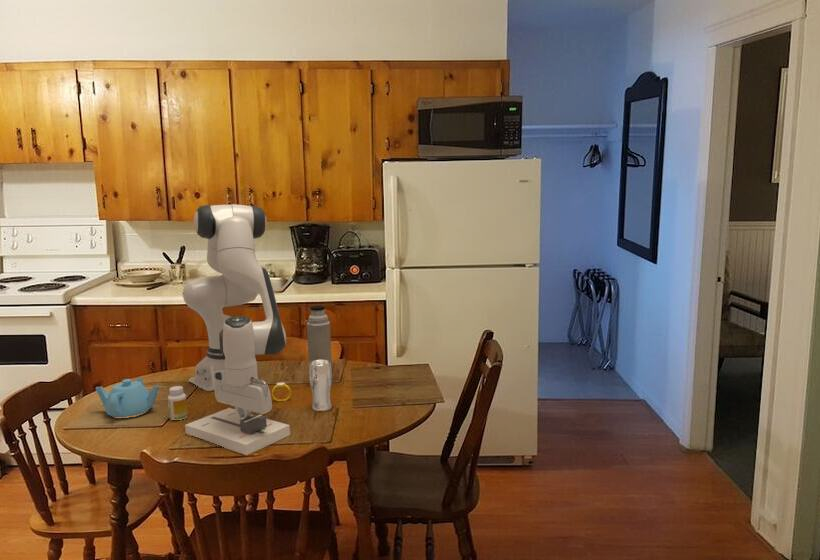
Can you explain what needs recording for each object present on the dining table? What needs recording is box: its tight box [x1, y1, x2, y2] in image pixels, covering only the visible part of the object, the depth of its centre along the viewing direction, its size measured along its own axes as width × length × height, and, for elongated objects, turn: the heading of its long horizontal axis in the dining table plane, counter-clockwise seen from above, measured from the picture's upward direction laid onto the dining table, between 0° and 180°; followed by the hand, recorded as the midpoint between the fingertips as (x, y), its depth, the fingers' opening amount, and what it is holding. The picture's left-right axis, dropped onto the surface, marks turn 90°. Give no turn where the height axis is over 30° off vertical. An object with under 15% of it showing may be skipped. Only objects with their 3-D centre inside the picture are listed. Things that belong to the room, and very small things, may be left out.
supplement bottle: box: [167, 385, 189, 421], centre depth 204 cm, size 5×5×10 cm
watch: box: [271, 381, 292, 402], centre depth 218 cm, size 6×3×6 cm, turn 101°
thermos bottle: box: [306, 305, 334, 387], centre depth 231 cm, size 8×8×28 cm
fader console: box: [184, 407, 291, 456], centre depth 191 cm, size 26×16×3 cm, turn 55°
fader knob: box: [240, 413, 267, 434], centre depth 186 cm, size 4×6×3 cm, turn 145°
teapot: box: [95, 377, 160, 417], centre depth 210 cm, size 15×15×11 cm
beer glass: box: [308, 359, 333, 412], centre depth 209 cm, size 7×7×15 cm
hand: (244, 421), depth 188 cm, fingers closed
